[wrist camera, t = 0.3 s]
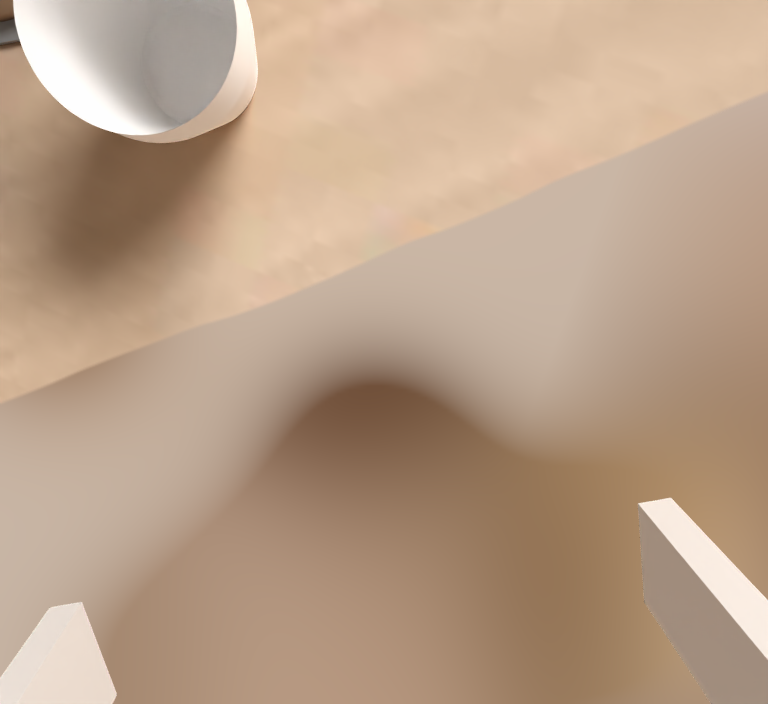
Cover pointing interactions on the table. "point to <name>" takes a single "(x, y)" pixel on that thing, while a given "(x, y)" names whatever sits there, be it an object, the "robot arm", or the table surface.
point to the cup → (143, 62)
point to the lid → (6, 10)
